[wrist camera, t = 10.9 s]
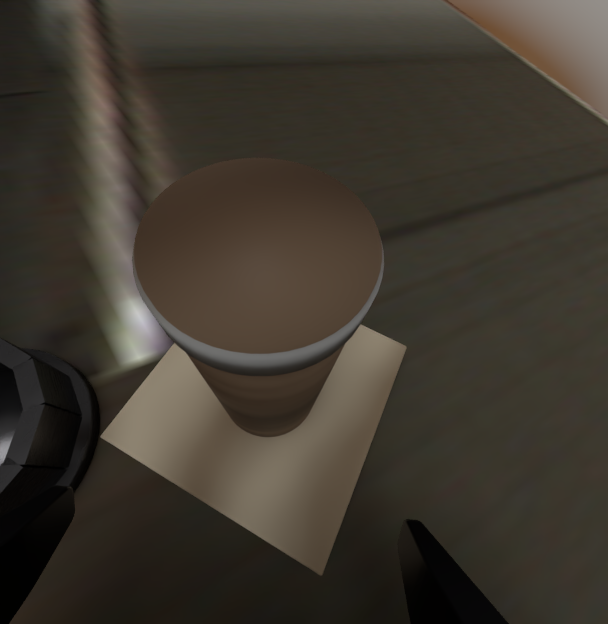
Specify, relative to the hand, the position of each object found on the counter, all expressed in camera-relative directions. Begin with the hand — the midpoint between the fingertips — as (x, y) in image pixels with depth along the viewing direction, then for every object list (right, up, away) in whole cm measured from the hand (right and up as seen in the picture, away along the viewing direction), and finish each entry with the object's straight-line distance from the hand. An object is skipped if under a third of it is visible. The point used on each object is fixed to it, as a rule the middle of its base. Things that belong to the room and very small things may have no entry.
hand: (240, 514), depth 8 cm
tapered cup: (0, +1, +8) cm, 9 cm away
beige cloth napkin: (0, +1, +10) cm, 10 cm away
